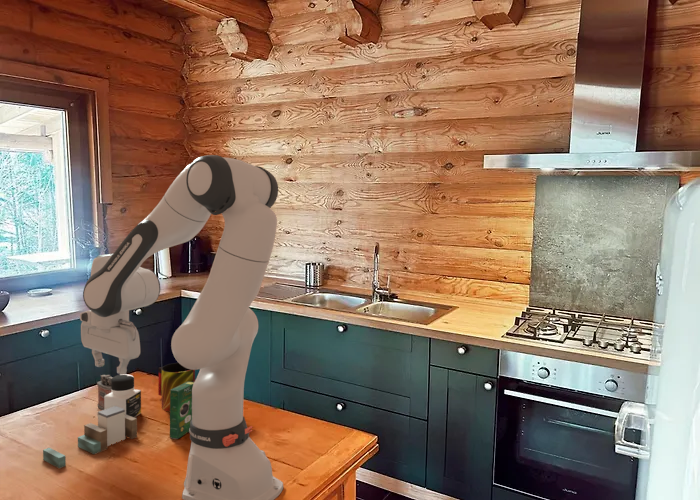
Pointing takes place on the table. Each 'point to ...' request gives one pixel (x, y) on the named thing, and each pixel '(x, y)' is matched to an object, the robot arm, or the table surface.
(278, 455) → the table surface
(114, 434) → the grey rectangular block
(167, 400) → the mug
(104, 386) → the lighter
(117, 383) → the medicine bottle
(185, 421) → the coffee box
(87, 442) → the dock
